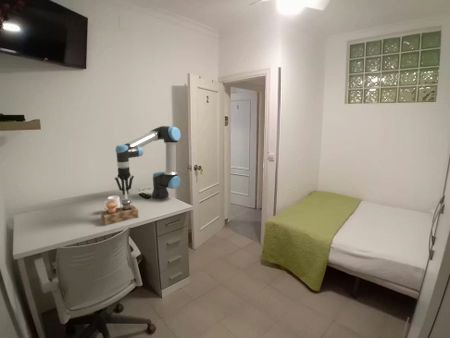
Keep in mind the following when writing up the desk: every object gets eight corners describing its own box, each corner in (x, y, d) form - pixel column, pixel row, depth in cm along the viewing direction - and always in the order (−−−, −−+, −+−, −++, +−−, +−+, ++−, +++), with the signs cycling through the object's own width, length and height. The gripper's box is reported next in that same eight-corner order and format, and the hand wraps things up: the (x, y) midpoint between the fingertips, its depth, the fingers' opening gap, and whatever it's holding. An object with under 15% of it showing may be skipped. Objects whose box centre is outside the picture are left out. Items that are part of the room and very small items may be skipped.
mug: (104, 216, 170) (103, 200, 168) (103, 212, 177) (101, 197, 175) (121, 212, 177) (120, 197, 174) (119, 209, 184) (118, 194, 181)
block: (133, 212, 178) (132, 204, 177) (138, 217, 169) (137, 209, 168) (101, 219, 165) (100, 211, 164) (105, 225, 156) (104, 217, 154)
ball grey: (130, 208, 174) (129, 198, 172) (132, 211, 169) (132, 200, 167) (121, 210, 170) (120, 200, 168) (123, 213, 165) (122, 202, 163)
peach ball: (115, 211, 167) (114, 201, 166) (118, 214, 163) (117, 203, 161) (106, 213, 163) (105, 203, 162) (108, 216, 159) (107, 205, 157)
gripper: (131, 165, 169) (133, 195, 174) (112, 167, 161) (115, 199, 166) (134, 167, 163) (136, 198, 168) (115, 169, 155) (117, 202, 160)
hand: (125, 198), depth 167 cm, fingers closed
